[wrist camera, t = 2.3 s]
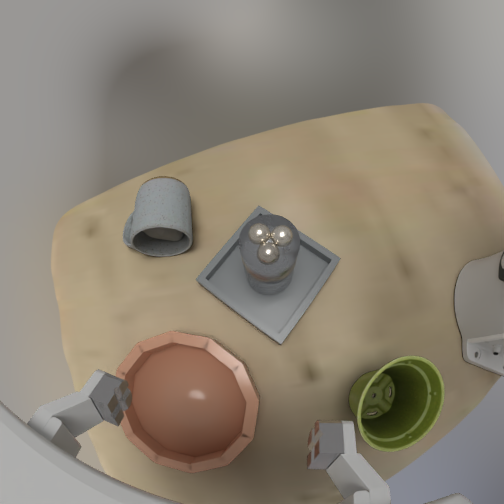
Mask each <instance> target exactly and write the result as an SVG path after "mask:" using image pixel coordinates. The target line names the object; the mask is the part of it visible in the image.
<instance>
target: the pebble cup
mask: <svg viewBox="0 0 504 504" xmlns="http://www.w3.org/2000/svg"><path fill="white" fill-rule="evenodd" d="M239 250H240V254H241V258H242V262H243V265H244V269H245V273H246V277H247V280H248V283H249V285H250V286H251V287H252V288H253V289H254V290H255V291H256V292H258V293H260V294H263V295H276V294H279V293H281V292H282V291H284V290H285V289H286V288H287V287H288V285H289V284H290V282H291V279H292V275H293V272H294V268H295V264H296V261H297V257H298V253H299V250H300V236H299V233H298V231H297V229H296V227H295V226H294V225H293V224H292V223H291V222H290V221H289V220H287V219H286V218H284V217H281V216H278V215H273V214H267V215H261V216H258V217H255V218H253V219H252V220H250V221H249V222H248V223H247V224H246V225H245V226H244V227H243V229H242V230H241V233H240V236H239Z"/></svg>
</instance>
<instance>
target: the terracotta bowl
mask: <svg viewBox="0 0 504 504" xmlns="http://www.w3.org/2000/svg"><path fill="white" fill-rule="evenodd" d="M244 363H245V362H243V361H242V360H241V359H239V358H238V357H237V356H235V355H234V354H233V353H232V352H230V351H229V350H228V349H226V348H225V347H224V346H223V345H221V344H220V343H219V342H218V341H216V340H214V339H211V338H208V337H202V336H196V335H191V334H185V333H180V332H175V331H169V332H166V333H163V334H161V335H158V336H155V337H152V338H150V339H147V340H144V341H141V342H138V343H137V344H136V345H135V347H134V348H133V349H132V350H131V352H130V353H129V354H128V356H127V357H126V358H125V359H124V361H123V362H122V363H121V365H120V366H119V367H118V368H117V369H118V370H117V372H116V377H119V378H121V379H124V380H127V382H128V384H129V386H128V387H127V388H128V389H129V390H130V391H131V393H132V402H131V405H130V407H129V409H127V410H125V411H123V412H124V418H123V419H122V421H121V426H122V428H123V430H124V433H125V435H126V437H127V438H128V439H129V440H130V441H131V442H132V443H133V444H134V445H135V446H136V447H137V448H138V449H140V450H141V451H142V452H143V453H144V454H145V455H146V456H147V457H149V458H150V459H151V460H152V461H153V462H155V463H157V464H160V465H164V466H167V467H170V468H174V469H177V470H181V471H184V472H188V473H195V472H201V471H205V470H210V469H214V468H218V467H222V466H226V465H229V464H230V463H231V462H232V461H233V460H234V459H235V458H236V457H237V456H238V454H239V453H240V452H241V451H242V450H243V449H244V448H245V447H246V446H247V445H248V444H249V443H250V442H251V441H252V440H253V438H254V433H255V427H256V420H257V414H258V407H259V400H260V395H259V393H258V391H257V389H256V386H255V384H254V382H253V380H252V377H251V375H250V373H249V370H248V368H247V366H246V363H245V364H244Z"/></svg>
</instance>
